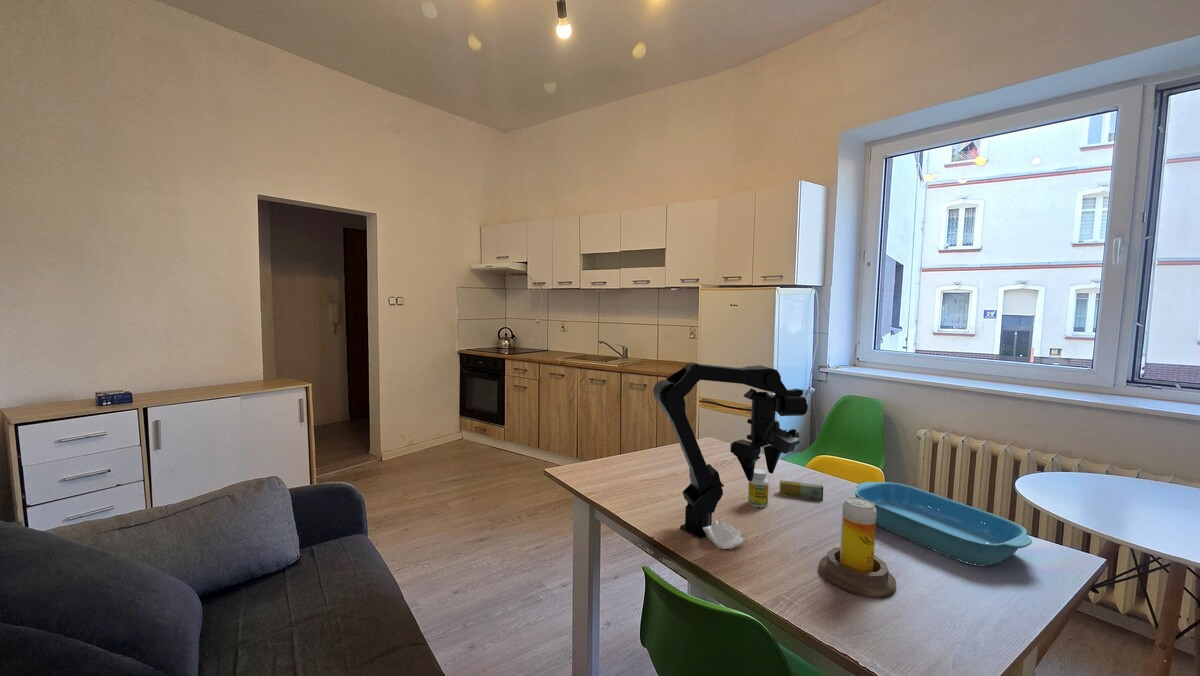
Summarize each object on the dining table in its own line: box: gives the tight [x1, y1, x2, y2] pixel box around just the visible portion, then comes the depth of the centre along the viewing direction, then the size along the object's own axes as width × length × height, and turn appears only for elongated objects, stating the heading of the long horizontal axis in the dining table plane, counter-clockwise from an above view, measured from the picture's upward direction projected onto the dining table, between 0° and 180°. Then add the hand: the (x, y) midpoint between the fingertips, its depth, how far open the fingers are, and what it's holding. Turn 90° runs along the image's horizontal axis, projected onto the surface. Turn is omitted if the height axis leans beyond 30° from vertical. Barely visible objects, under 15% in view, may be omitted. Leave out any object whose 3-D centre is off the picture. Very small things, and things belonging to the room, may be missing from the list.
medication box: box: [778, 480, 824, 502], centre depth 137 cm, size 12×3×4 cm, turn 72°
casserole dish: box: [854, 481, 1033, 566], centre depth 115 cm, size 37×22×7 cm, turn 28°
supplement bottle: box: [747, 468, 770, 509], centre depth 131 cm, size 5×5×10 cm
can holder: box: [818, 546, 897, 599], centre depth 96 cm, size 14×14×4 cm
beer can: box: [840, 496, 877, 573], centre depth 95 cm, size 6×6×15 cm
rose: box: [702, 520, 744, 550], centre depth 110 cm, size 10×4×10 cm
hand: (760, 476), depth 116 cm, fingers open, 9 cm apart
